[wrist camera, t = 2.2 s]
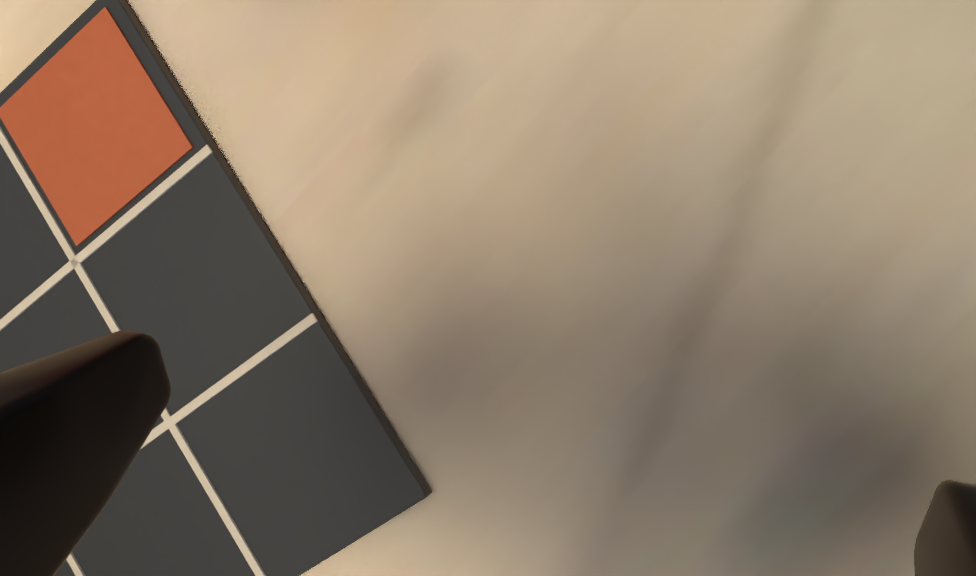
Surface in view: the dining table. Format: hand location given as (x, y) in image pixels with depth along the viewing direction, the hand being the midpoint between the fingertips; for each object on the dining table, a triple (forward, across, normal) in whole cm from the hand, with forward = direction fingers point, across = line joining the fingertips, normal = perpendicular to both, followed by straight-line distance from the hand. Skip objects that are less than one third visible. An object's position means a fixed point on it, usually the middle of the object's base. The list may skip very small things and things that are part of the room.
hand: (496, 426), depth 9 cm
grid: (+10, +19, +12) cm, 25 cm away
